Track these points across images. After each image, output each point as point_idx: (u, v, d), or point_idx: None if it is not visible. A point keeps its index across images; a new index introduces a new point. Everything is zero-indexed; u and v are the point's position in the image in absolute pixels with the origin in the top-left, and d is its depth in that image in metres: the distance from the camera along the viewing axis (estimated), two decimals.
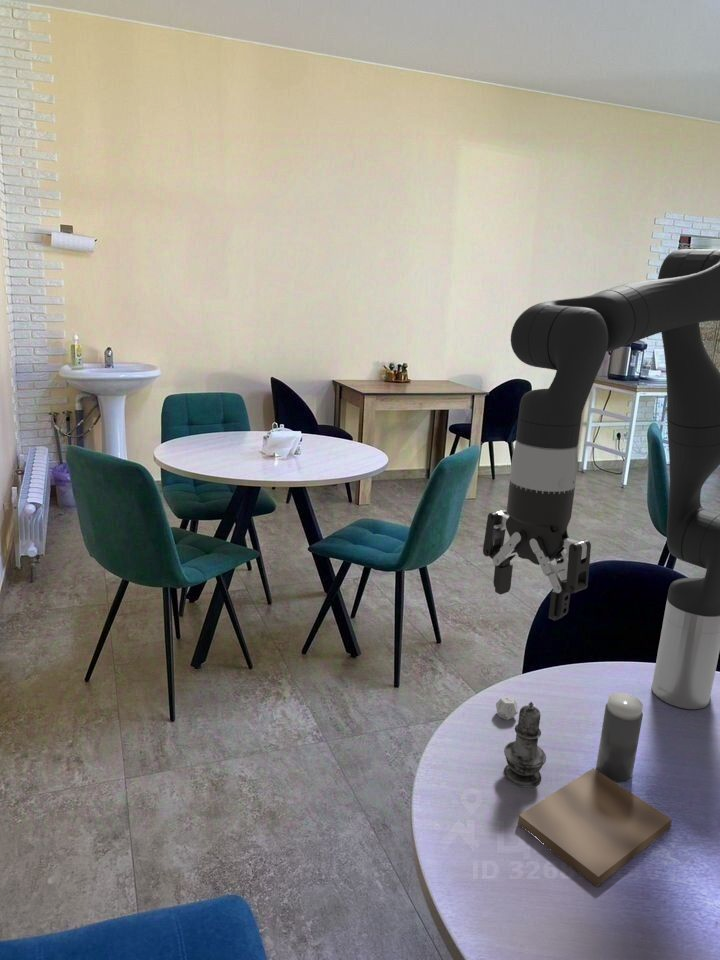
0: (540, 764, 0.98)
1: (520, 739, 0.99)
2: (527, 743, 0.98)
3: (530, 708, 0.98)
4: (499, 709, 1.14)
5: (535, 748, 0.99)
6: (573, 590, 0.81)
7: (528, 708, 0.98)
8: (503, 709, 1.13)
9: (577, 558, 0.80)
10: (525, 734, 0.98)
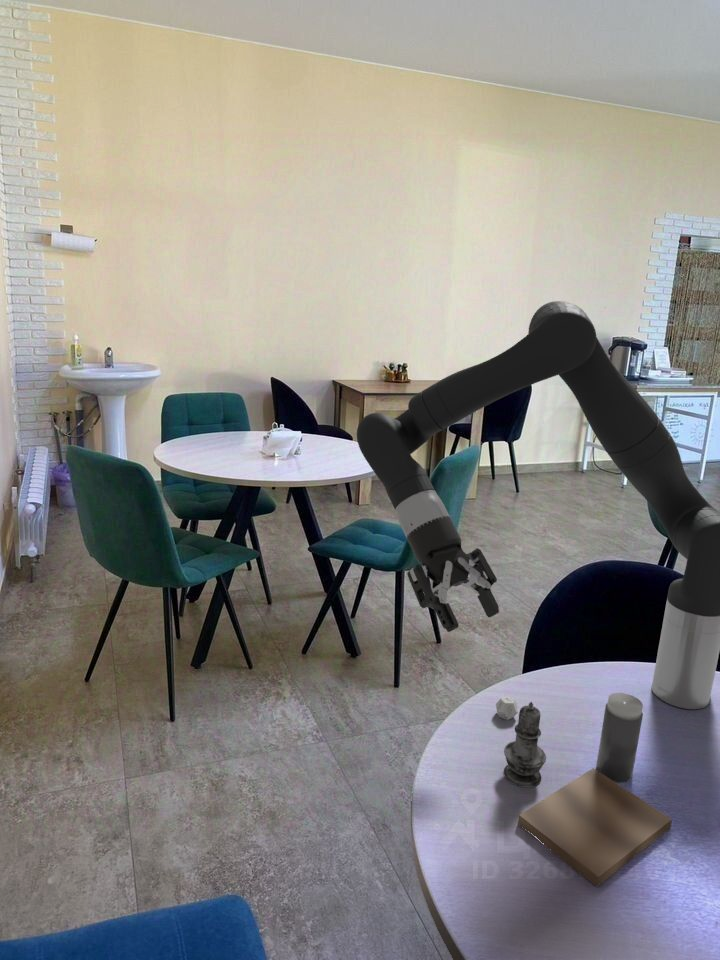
0: (540, 764, 0.98)
1: (520, 739, 0.99)
2: (526, 743, 0.98)
3: (529, 708, 0.98)
4: (499, 709, 1.14)
5: (535, 748, 0.99)
6: (421, 605, 1.03)
7: (528, 708, 0.98)
8: (503, 709, 1.13)
9: (410, 581, 1.05)
10: (525, 734, 0.98)
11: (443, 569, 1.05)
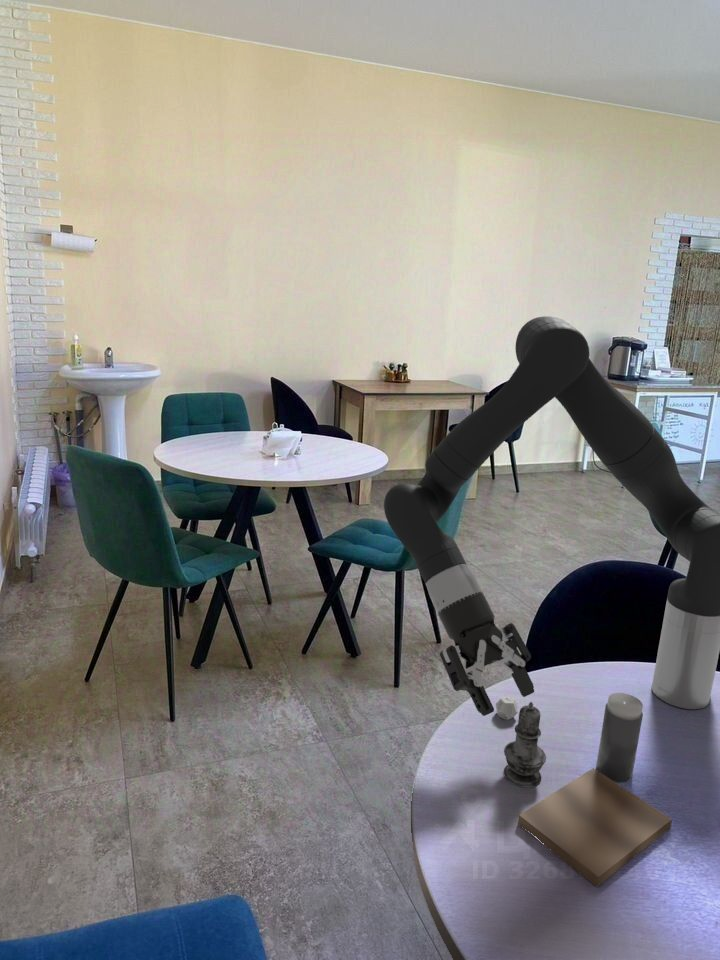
0: (540, 764, 0.98)
1: (520, 739, 0.99)
2: (527, 743, 0.98)
3: (529, 708, 0.98)
4: (499, 709, 1.14)
5: (535, 748, 0.99)
6: None
7: (528, 708, 0.98)
8: (503, 709, 1.13)
9: (443, 662, 1.01)
10: (525, 734, 0.98)
11: (477, 649, 1.02)
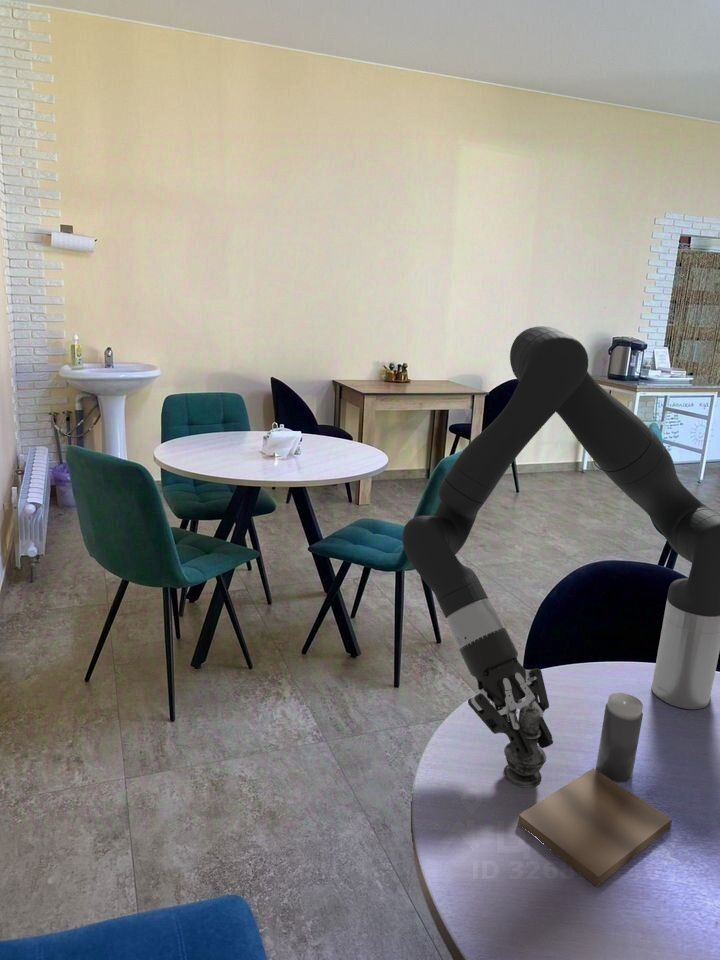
0: (540, 764, 0.98)
1: None
2: None
3: (530, 708, 0.98)
4: None
5: (535, 748, 0.99)
6: None
7: (528, 708, 0.98)
8: None
9: (474, 710, 0.99)
10: (525, 734, 0.98)
11: (503, 690, 0.99)
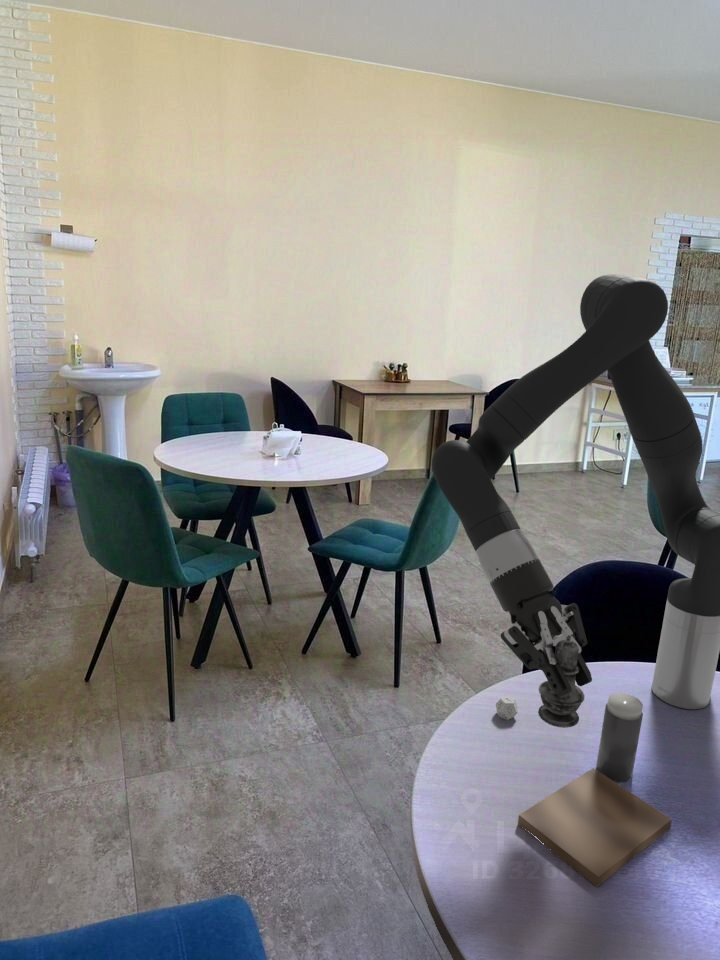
0: (578, 702, 0.92)
1: None
2: None
3: (567, 642, 0.91)
4: (499, 709, 1.14)
5: (573, 685, 0.92)
6: (527, 666, 0.92)
7: (565, 642, 0.91)
8: (503, 709, 1.13)
9: (507, 644, 0.92)
10: (562, 670, 0.91)
11: (538, 623, 0.93)
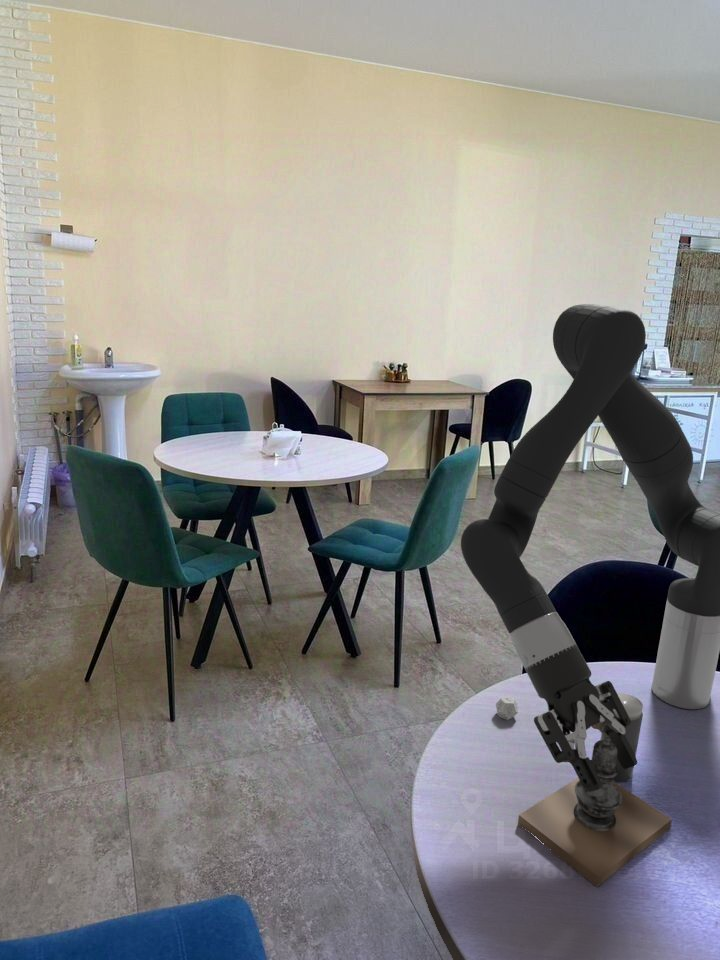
0: (617, 805, 0.89)
1: None
2: (602, 782, 0.89)
3: (606, 744, 0.89)
4: (499, 709, 1.14)
5: (611, 787, 0.90)
6: (555, 759, 0.88)
7: (604, 744, 0.89)
8: (503, 709, 1.13)
9: (539, 730, 0.89)
10: (600, 772, 0.89)
11: (575, 713, 0.89)
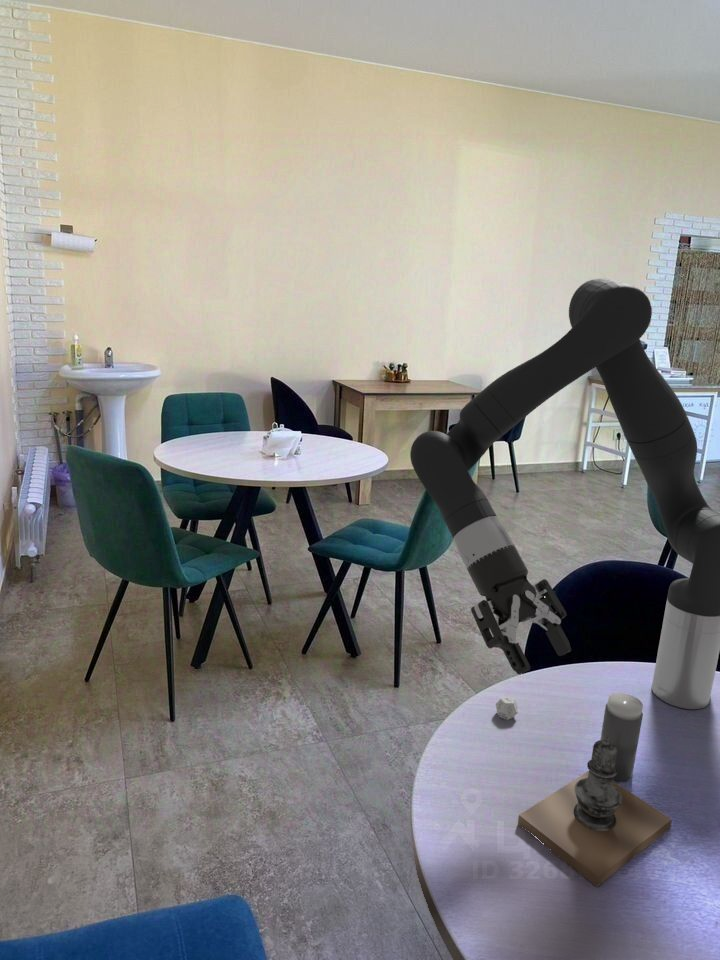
0: (616, 805, 0.89)
1: (594, 778, 0.90)
2: (602, 782, 0.89)
3: (605, 744, 0.89)
4: (499, 709, 1.14)
5: (611, 787, 0.90)
6: (487, 645, 0.94)
7: (603, 744, 0.89)
8: (503, 709, 1.13)
9: (475, 618, 0.95)
10: (600, 772, 0.89)
11: (510, 604, 0.96)
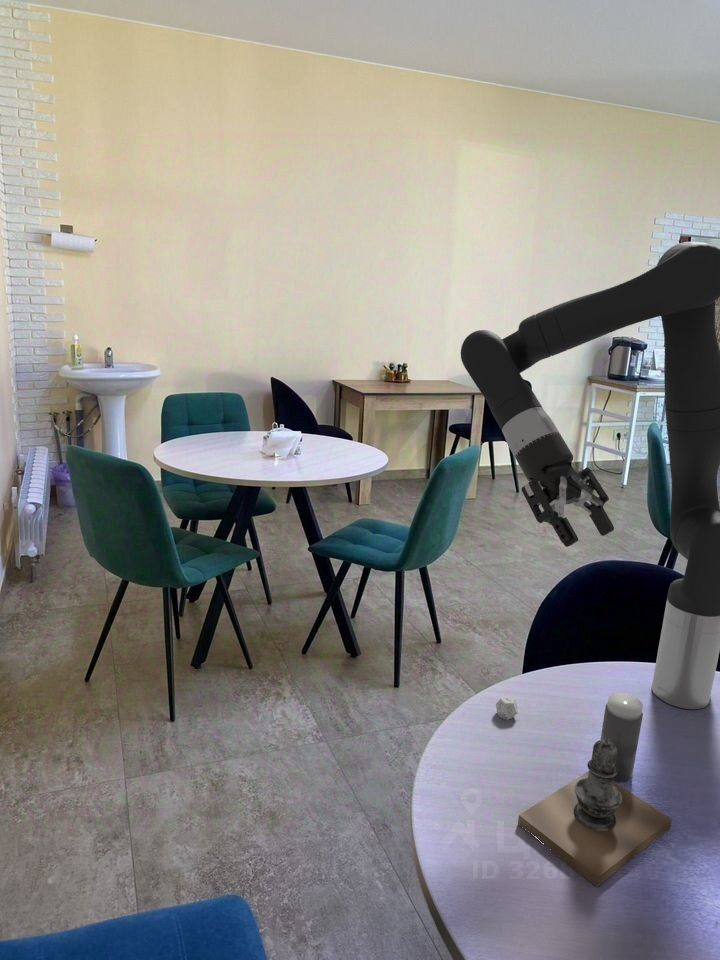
0: (616, 805, 0.89)
1: (594, 778, 0.90)
2: (602, 782, 0.89)
3: (605, 744, 0.89)
4: (499, 709, 1.14)
5: (611, 787, 0.90)
6: (537, 520, 1.01)
7: (603, 744, 0.89)
8: (503, 709, 1.13)
9: (525, 496, 1.02)
10: (600, 772, 0.89)
11: (558, 484, 1.02)
